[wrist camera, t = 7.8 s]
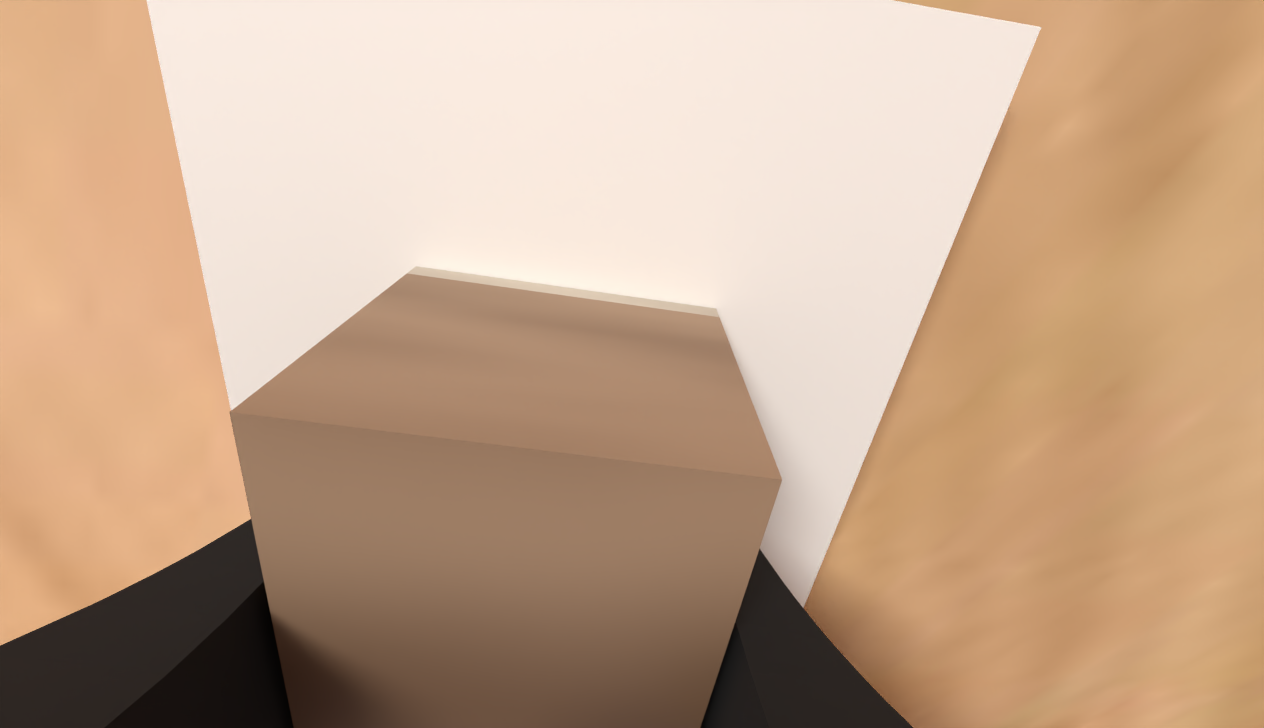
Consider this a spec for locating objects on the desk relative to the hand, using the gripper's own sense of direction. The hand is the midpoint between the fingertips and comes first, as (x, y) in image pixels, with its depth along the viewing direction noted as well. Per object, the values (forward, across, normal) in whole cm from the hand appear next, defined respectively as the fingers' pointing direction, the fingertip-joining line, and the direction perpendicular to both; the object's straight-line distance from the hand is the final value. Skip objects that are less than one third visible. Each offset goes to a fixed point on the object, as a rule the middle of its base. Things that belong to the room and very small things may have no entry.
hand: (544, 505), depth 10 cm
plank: (+2, 0, +4) cm, 5 cm away
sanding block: (+1, 0, 0) cm, 1 cm away
